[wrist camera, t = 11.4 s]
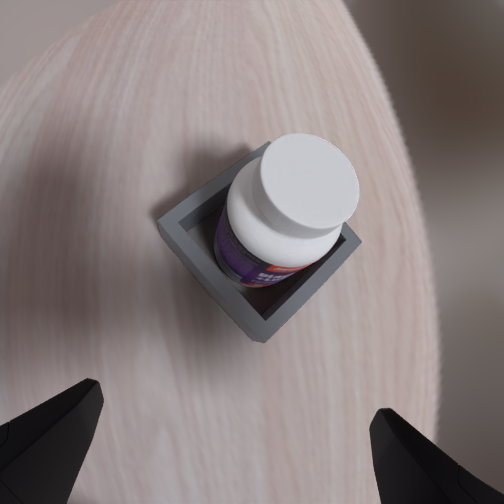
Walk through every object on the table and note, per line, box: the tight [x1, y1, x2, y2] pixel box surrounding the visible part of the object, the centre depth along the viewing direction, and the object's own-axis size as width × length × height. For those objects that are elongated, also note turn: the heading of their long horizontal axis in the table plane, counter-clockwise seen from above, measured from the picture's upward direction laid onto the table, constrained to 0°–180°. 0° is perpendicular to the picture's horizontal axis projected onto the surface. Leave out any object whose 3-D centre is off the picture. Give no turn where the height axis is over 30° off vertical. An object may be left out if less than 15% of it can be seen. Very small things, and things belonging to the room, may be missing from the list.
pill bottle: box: [214, 133, 359, 288], centre depth 15 cm, size 5×5×10 cm
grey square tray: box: [157, 141, 362, 343], centre depth 19 cm, size 9×9×3 cm
